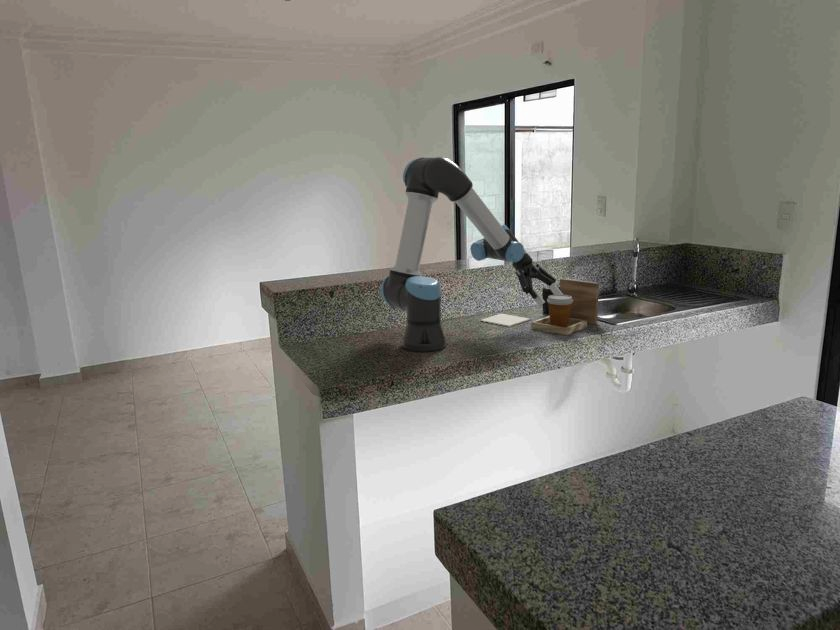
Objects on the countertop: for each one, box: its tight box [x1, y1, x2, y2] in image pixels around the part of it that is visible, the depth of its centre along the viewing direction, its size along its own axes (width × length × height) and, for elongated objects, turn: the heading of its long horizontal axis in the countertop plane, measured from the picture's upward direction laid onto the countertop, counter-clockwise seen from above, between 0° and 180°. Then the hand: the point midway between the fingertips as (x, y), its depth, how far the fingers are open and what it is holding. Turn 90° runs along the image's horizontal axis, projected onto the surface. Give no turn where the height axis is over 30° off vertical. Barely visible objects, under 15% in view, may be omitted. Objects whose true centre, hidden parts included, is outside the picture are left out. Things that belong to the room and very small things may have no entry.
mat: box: [480, 313, 531, 328], centre depth 242 cm, size 14×14×1 cm
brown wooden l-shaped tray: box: [530, 278, 600, 336], centre depth 230 cm, size 22×16×16 cm
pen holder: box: [541, 286, 560, 315], centre depth 253 cm, size 9×9×10 cm
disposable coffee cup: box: [547, 295, 573, 328], centre depth 228 cm, size 10×10×12 cm
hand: (552, 301), depth 230 cm, fingers open, 13 cm apart
